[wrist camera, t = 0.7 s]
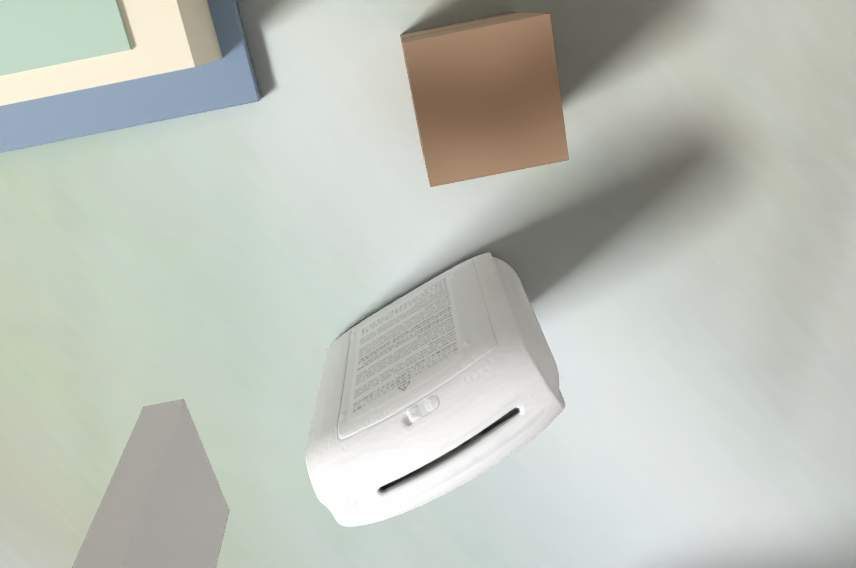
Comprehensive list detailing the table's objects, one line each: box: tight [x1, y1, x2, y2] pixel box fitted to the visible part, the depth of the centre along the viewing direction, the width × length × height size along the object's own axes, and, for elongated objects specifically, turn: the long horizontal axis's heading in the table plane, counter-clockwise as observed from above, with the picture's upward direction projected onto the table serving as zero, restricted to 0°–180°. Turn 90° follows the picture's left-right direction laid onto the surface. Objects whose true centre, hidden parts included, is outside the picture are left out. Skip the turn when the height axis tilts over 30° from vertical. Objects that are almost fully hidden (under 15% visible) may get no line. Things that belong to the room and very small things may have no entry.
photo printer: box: [306, 252, 565, 527], centre depth 33 cm, size 10×4×12 cm, turn 122°
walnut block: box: [400, 12, 569, 187], centre depth 31 cm, size 5×5×8 cm
